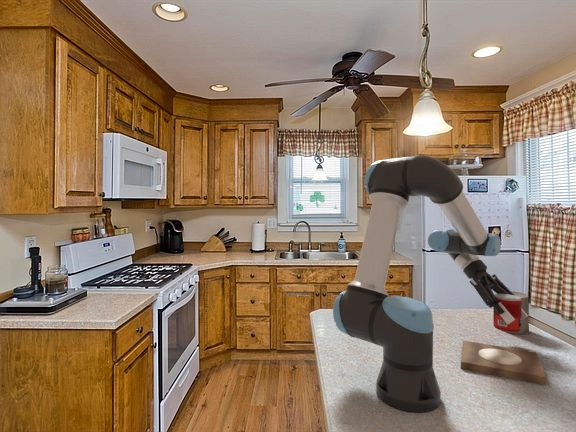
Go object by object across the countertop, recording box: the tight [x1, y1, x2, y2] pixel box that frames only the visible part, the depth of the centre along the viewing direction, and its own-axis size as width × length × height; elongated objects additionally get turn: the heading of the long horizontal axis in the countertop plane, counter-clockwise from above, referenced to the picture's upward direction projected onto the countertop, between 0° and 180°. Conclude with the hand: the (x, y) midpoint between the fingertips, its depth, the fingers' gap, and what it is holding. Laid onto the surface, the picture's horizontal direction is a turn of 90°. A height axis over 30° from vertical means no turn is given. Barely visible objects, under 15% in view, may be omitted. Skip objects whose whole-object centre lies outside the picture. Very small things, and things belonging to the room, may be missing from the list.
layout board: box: [460, 340, 547, 386], centre depth 103 cm, size 20×18×2 cm
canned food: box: [492, 293, 522, 333], centre depth 117 cm, size 8×8×11 cm
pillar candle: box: [503, 290, 530, 335], centre depth 130 cm, size 10×10×15 cm
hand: (517, 319), depth 114 cm, fingers closed on canned food, 8 cm apart
